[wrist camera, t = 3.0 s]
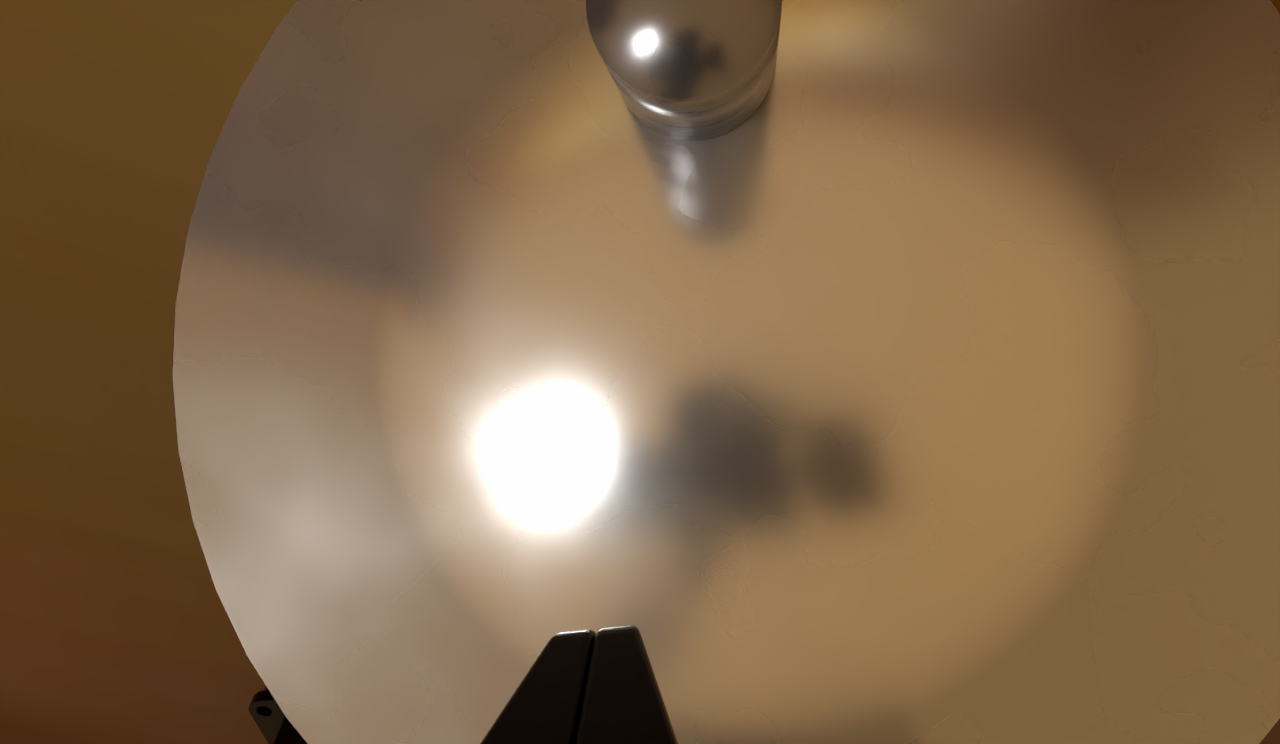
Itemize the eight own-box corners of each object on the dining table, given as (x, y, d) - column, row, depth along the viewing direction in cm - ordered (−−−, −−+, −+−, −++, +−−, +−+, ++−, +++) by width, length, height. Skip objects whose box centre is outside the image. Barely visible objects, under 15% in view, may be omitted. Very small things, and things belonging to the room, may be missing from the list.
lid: (1429, 1144, 12) (1662, 1422, 9) (321, 1162, 13) (200, 1397, 10) (1268, -302, 11) (1458, -536, 8) (149, -77, 13) (-28, -200, 10)
